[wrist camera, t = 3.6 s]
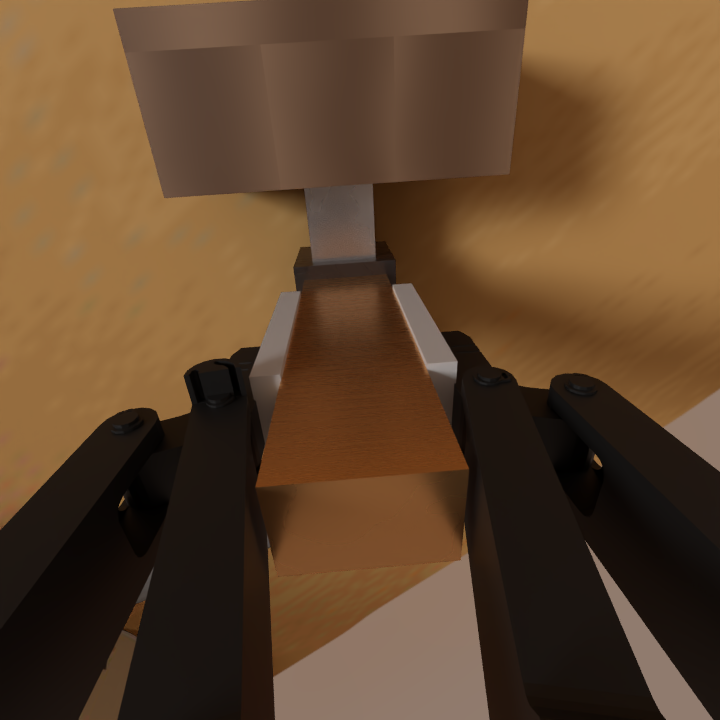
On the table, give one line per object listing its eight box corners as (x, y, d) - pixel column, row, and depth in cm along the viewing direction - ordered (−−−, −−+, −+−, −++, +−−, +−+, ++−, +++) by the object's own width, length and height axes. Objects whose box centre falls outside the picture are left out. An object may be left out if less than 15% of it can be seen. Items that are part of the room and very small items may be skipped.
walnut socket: (217, 183, 20) (164, 197, 13) (192, 59, 17) (112, 8, 11) (455, 167, 20) (509, 174, 14) (461, 43, 18) (530, -16, 11)
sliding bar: (330, 482, 28) (326, 813, 14) (291, 179, 19) (165, 260, 5) (391, 476, 28) (448, 800, 14) (382, 173, 19) (522, 235, 5)
